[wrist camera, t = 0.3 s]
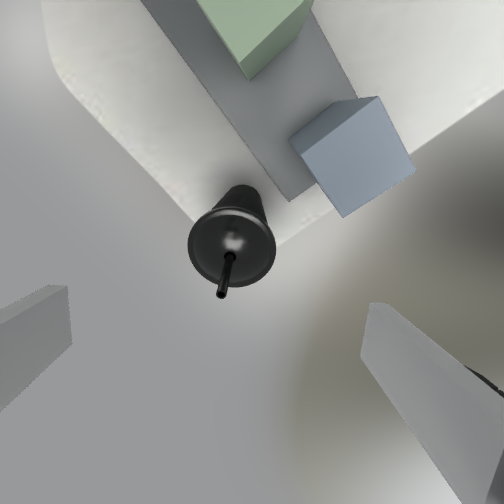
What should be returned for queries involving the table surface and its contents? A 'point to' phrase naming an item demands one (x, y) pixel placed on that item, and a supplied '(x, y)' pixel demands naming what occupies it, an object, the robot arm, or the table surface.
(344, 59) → the table surface
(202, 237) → the drinking cup
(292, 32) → the pale green block
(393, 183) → the blue-grey tall block
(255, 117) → the grey flat board
